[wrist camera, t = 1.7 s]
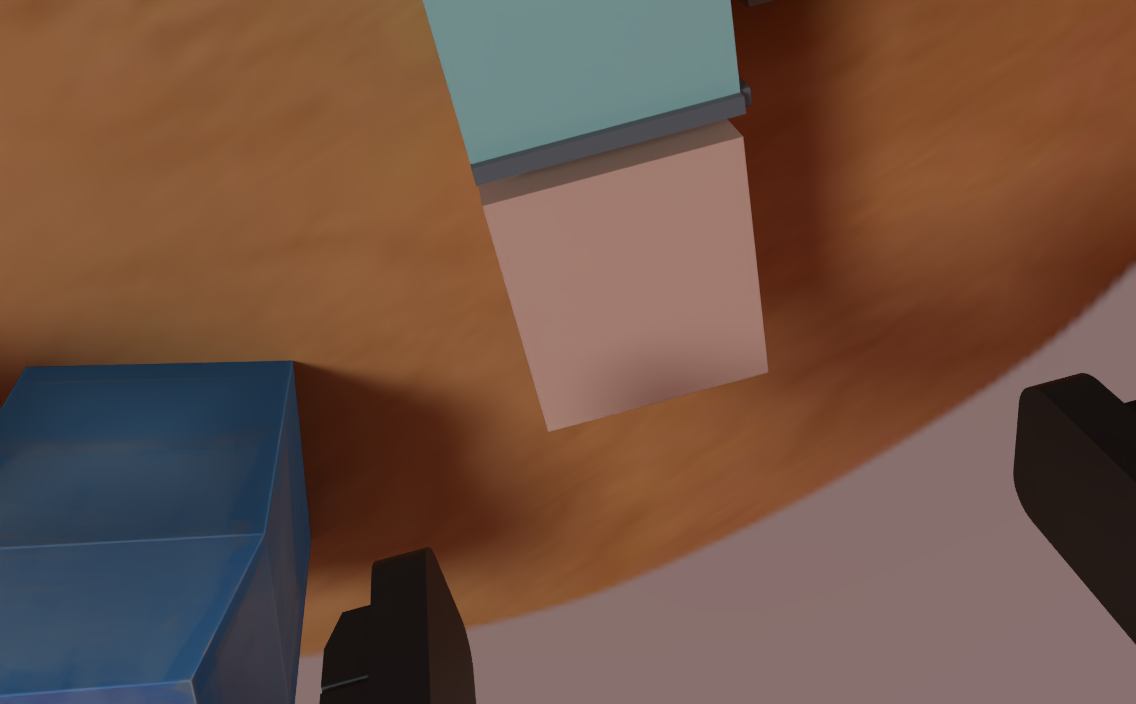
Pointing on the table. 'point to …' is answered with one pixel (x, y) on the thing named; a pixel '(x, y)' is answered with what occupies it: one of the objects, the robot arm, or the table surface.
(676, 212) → the stub
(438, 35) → the bar
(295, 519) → the perfume bottle
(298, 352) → the table surface
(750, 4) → the tray
